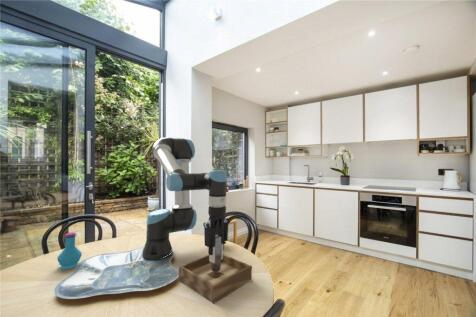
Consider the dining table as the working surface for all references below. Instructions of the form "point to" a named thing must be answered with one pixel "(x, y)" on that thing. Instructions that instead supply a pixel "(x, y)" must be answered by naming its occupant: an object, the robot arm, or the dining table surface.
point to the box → (201, 275)
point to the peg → (217, 254)
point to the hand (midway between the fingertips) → (216, 260)
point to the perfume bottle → (69, 253)
